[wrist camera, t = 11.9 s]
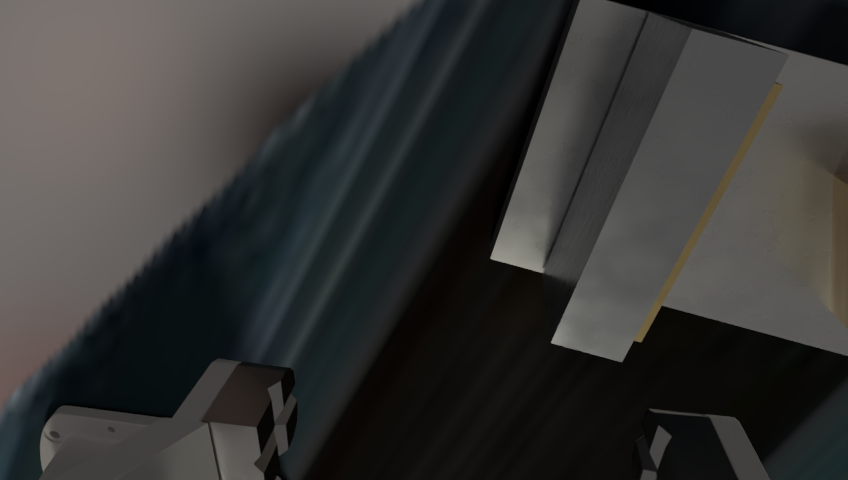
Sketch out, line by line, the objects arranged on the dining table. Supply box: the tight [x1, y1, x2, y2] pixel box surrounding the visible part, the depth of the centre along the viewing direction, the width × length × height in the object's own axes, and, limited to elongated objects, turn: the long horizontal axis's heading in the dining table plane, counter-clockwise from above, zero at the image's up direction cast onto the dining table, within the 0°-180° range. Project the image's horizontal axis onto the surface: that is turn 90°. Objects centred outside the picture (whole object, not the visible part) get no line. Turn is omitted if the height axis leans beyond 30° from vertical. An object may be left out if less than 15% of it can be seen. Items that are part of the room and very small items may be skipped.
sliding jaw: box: [542, 13, 790, 362], centre depth 24 cm, size 4×14×6 cm, turn 166°
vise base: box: [490, 0, 848, 356], centre depth 25 cm, size 30×14×8 cm, turn 77°
